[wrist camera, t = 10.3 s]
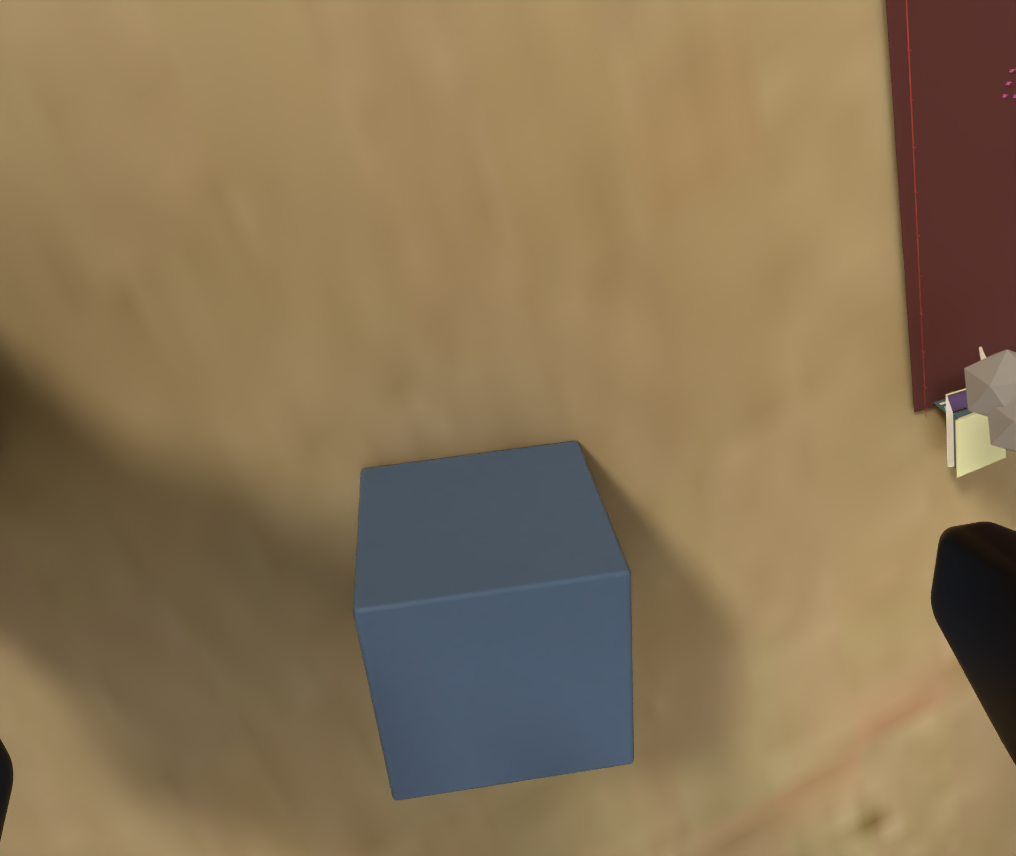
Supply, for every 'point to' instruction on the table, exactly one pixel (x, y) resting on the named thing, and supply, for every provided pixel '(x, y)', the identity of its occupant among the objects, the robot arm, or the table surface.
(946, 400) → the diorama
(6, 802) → the robot arm
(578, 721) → the blue block
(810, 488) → the table surface
